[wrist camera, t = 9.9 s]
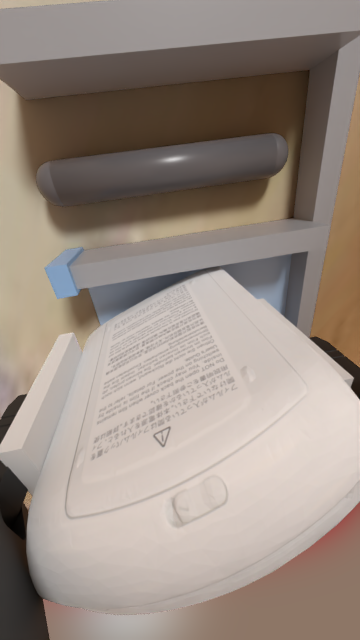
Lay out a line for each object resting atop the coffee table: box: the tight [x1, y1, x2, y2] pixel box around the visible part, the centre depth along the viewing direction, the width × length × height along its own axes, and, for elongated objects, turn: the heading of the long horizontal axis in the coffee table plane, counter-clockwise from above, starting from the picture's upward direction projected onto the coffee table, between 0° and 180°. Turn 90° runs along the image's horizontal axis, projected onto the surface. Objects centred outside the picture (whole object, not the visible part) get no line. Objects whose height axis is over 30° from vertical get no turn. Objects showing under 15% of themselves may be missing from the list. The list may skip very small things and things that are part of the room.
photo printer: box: [26, 266, 360, 615], centre depth 10 cm, size 10×4×12 cm, turn 117°
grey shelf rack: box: [0, 0, 360, 338], centre depth 12 cm, size 26×16×4 cm, turn 7°
